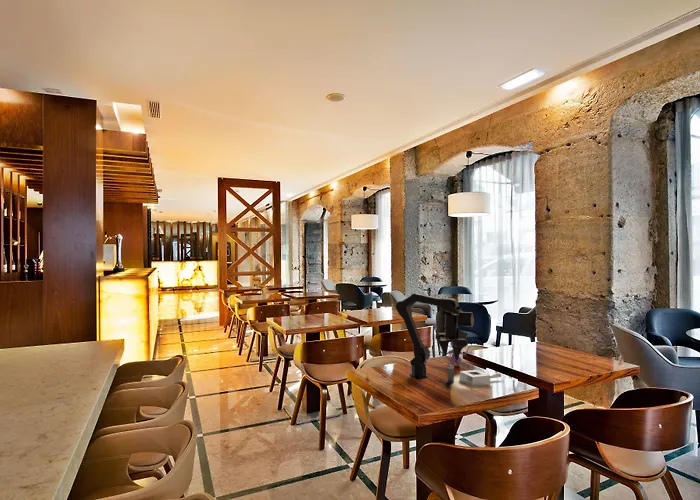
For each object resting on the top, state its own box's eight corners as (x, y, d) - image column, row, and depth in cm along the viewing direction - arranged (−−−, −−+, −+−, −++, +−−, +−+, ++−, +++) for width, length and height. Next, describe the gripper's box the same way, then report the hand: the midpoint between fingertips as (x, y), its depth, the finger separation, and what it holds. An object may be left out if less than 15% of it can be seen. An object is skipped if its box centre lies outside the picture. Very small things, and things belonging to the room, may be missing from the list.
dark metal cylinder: (449, 383, 189) (449, 366, 190) (445, 381, 192) (445, 365, 193) (455, 383, 190) (455, 366, 191) (451, 381, 194) (451, 364, 194)
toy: (470, 365, 224) (471, 338, 224) (472, 367, 218) (473, 340, 218) (437, 363, 225) (437, 337, 226) (438, 366, 220) (438, 339, 220)
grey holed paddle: (472, 386, 185) (472, 377, 185) (459, 380, 194) (459, 371, 195) (507, 382, 192) (507, 373, 192) (493, 377, 201) (493, 368, 201)
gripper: (477, 327, 187) (477, 360, 186) (453, 321, 204) (453, 351, 204) (457, 328, 183) (457, 362, 182) (434, 322, 200) (434, 353, 200)
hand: (450, 357), depth 192 cm, fingers open, 9 cm apart
